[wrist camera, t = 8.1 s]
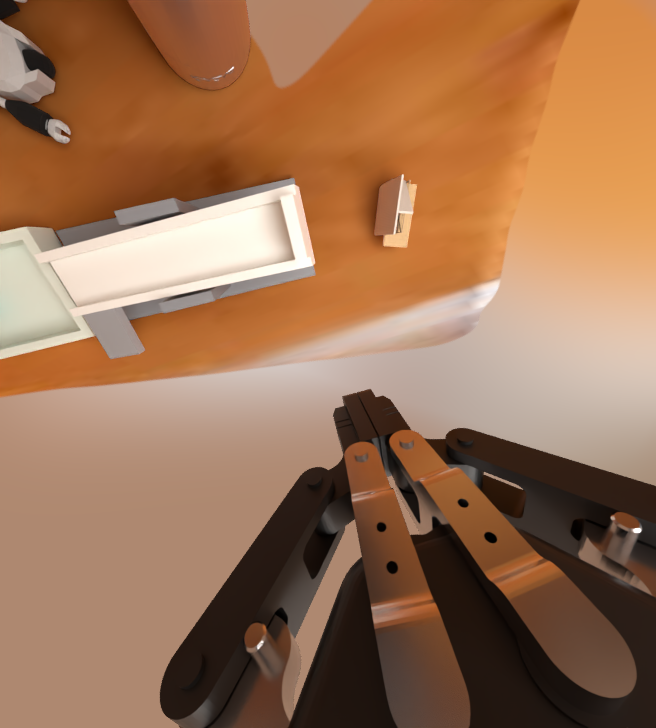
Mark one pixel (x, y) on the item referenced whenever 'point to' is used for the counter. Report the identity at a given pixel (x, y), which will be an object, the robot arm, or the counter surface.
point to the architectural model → (395, 211)
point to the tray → (34, 295)
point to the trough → (180, 259)
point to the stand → (171, 209)
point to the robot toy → (26, 78)
